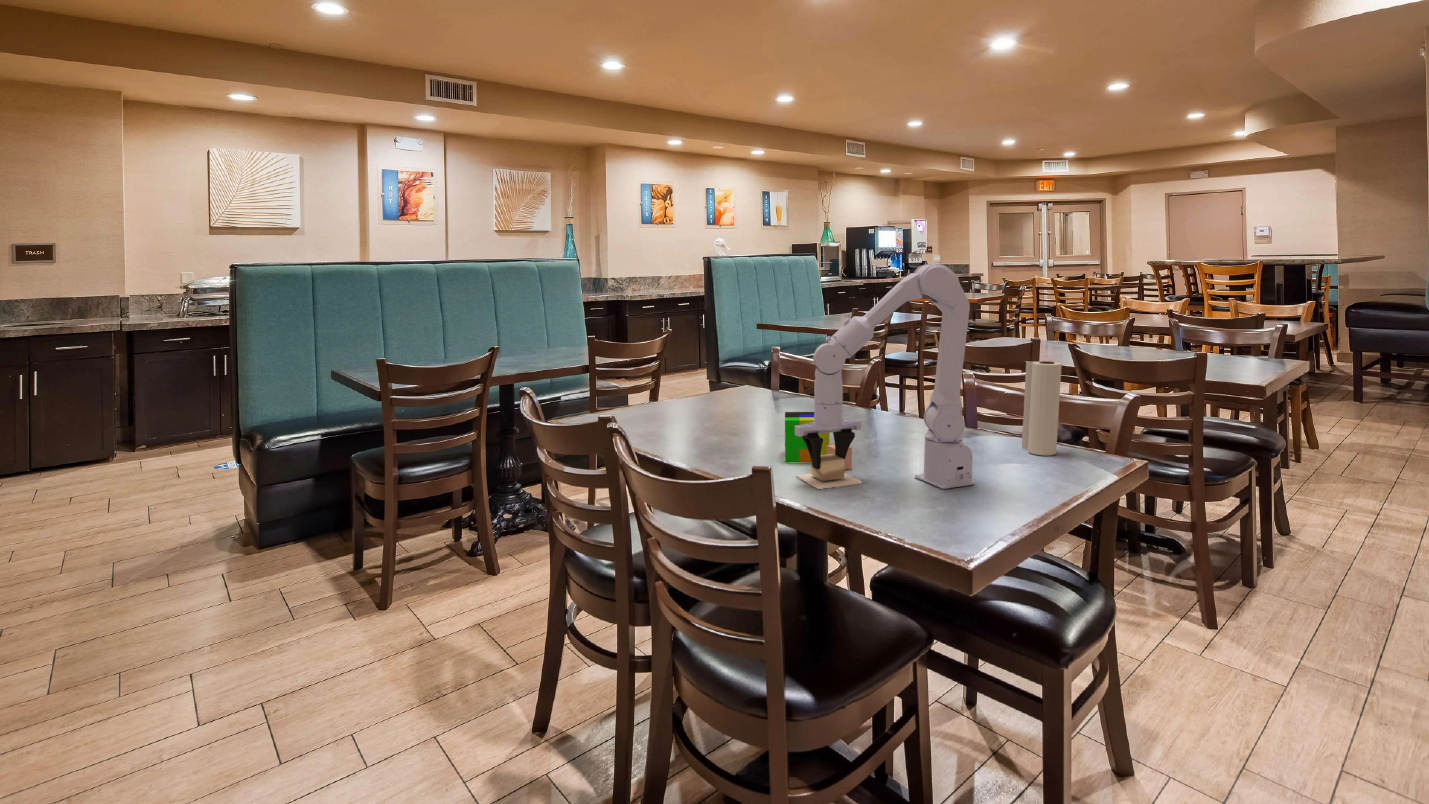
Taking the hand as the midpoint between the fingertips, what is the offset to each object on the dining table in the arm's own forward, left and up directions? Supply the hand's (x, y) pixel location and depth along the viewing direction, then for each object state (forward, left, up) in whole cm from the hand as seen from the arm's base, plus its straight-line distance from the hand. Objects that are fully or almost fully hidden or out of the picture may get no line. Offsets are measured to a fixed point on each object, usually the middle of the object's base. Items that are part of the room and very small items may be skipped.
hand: (828, 466), depth 152 cm
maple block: (0, 0, -2) cm, 2 cm away
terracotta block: (+8, -7, -3) cm, 11 cm away
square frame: (0, 0, -3) cm, 3 cm away
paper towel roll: (-1, -56, -3) cm, 56 cm away
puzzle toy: (+19, -5, -3) cm, 20 cm away
